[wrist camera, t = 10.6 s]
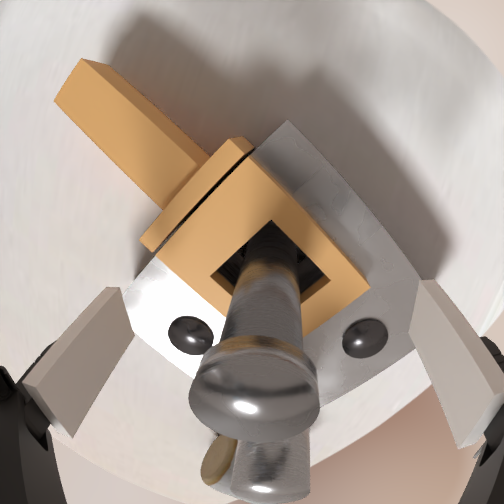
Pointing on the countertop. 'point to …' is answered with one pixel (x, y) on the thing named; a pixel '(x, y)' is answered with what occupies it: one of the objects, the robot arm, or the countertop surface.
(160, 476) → the countertop surface
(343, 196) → the grey latch block
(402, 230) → the countertop surface
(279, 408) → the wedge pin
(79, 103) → the bracket
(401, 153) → the countertop surface
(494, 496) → the robot arm
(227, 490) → the ceramic mug
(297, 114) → the countertop surface
